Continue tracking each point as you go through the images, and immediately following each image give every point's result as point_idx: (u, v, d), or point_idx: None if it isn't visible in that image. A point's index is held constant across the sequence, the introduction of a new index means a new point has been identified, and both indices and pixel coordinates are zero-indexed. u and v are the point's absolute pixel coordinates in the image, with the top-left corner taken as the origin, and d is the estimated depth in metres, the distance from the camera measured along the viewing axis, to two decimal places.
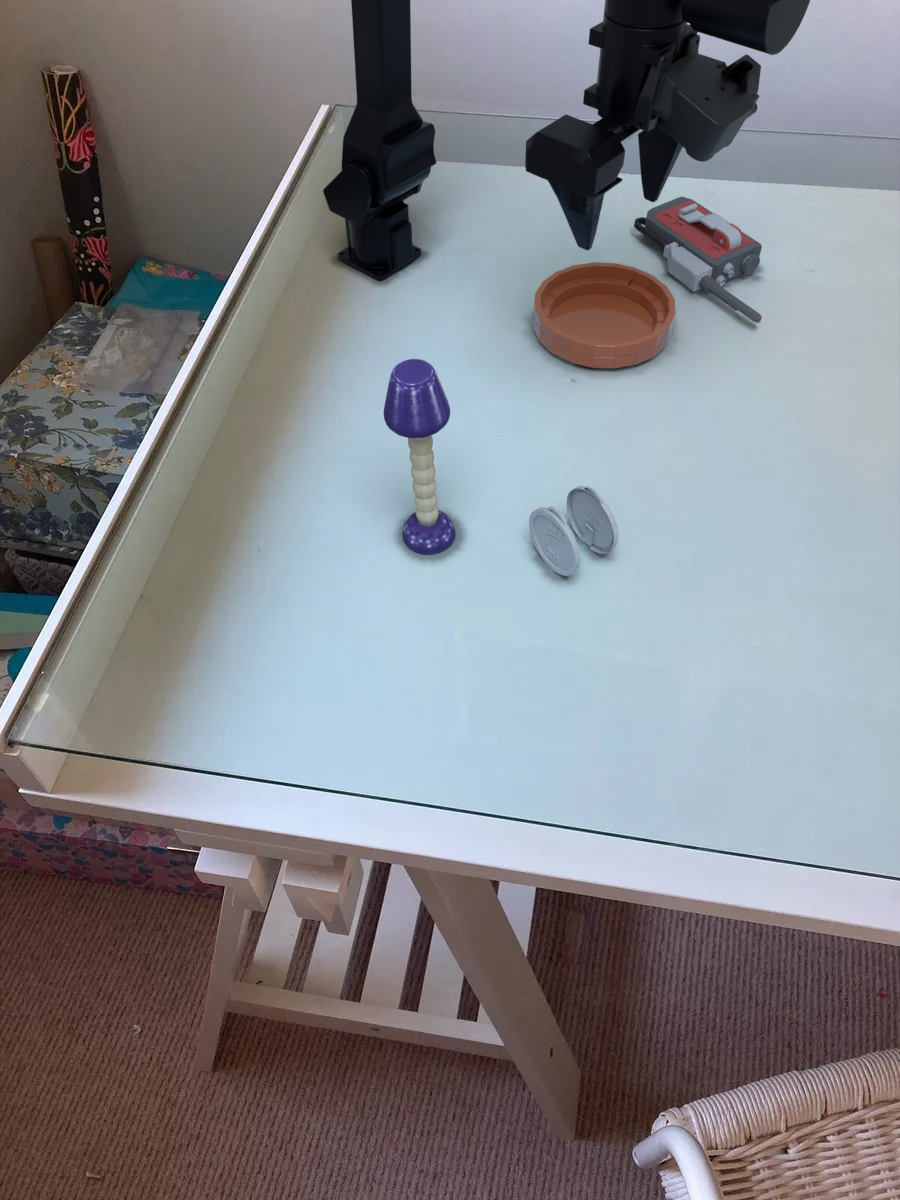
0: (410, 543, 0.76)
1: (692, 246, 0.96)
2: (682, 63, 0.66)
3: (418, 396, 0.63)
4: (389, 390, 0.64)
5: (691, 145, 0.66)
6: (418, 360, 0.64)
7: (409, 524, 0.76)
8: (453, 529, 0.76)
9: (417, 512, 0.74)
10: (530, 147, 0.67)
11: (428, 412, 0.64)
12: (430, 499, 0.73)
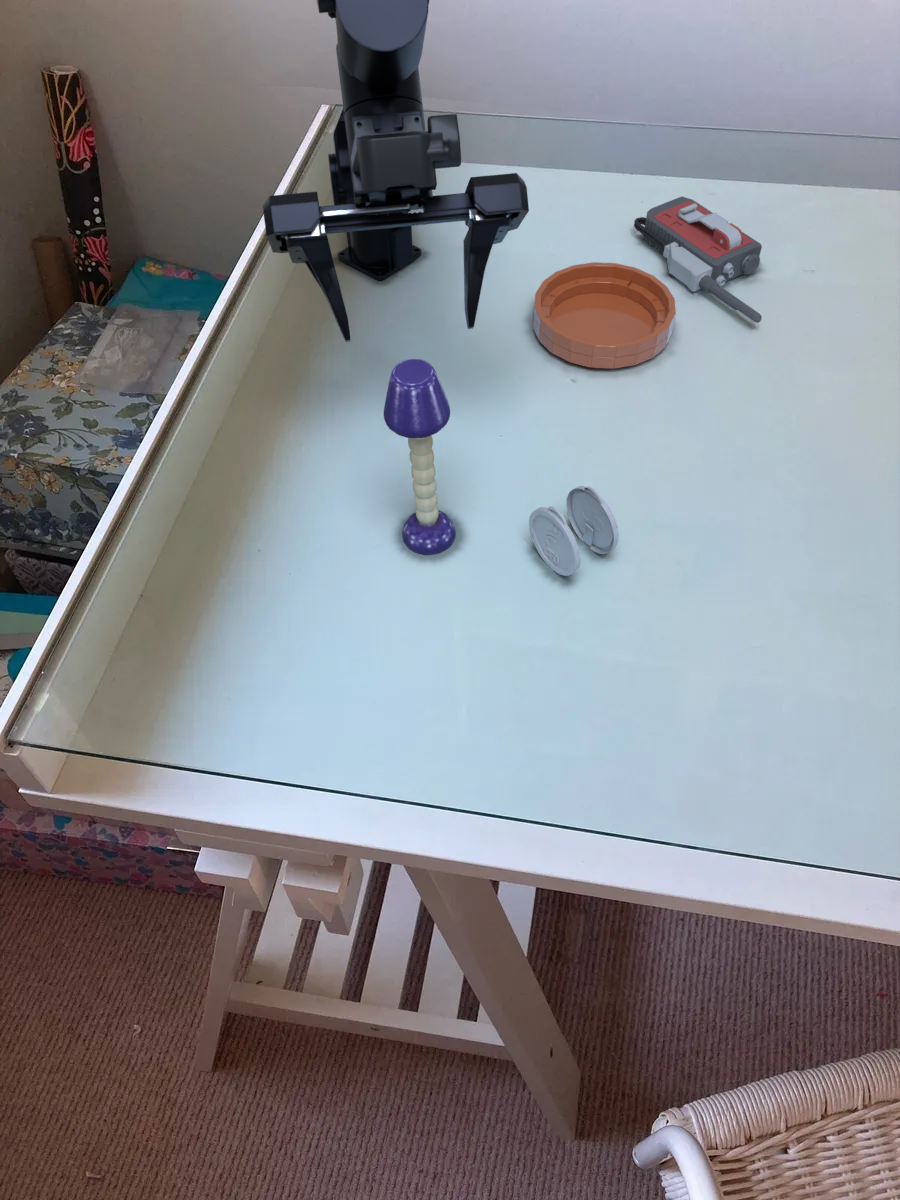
0: (410, 543, 0.76)
1: (692, 246, 0.96)
2: (392, 133, 0.66)
3: (418, 396, 0.63)
4: (389, 390, 0.64)
5: (361, 178, 0.63)
6: (418, 360, 0.64)
7: (409, 524, 0.76)
8: (453, 529, 0.76)
9: (417, 512, 0.74)
10: None
11: (428, 412, 0.64)
12: (430, 499, 0.73)
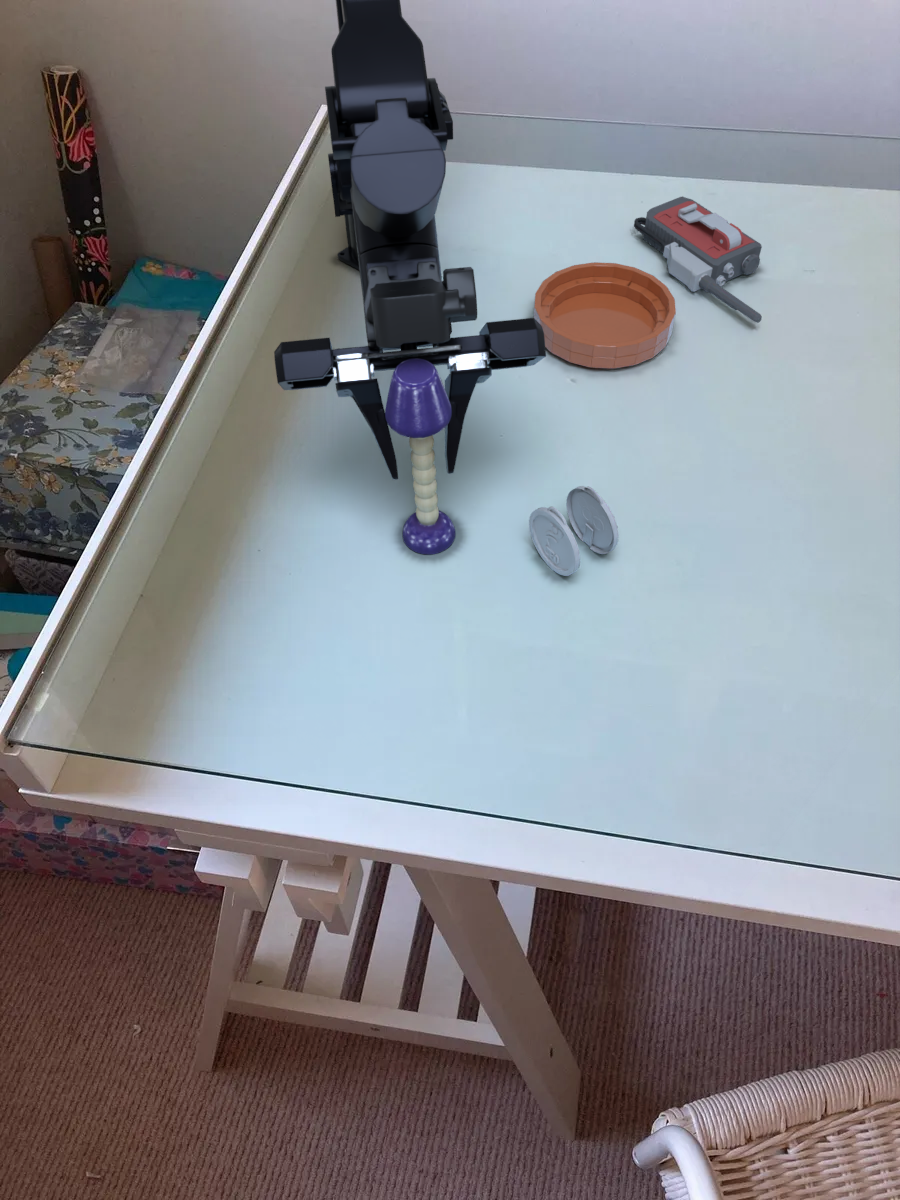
0: (410, 543, 0.76)
1: (692, 246, 0.96)
2: (407, 281, 0.65)
3: (420, 395, 0.63)
4: (391, 390, 0.64)
5: (375, 333, 0.62)
6: (420, 360, 0.64)
7: (409, 524, 0.76)
8: (453, 529, 0.76)
9: (417, 512, 0.74)
10: None
11: (430, 412, 0.64)
12: (430, 499, 0.73)
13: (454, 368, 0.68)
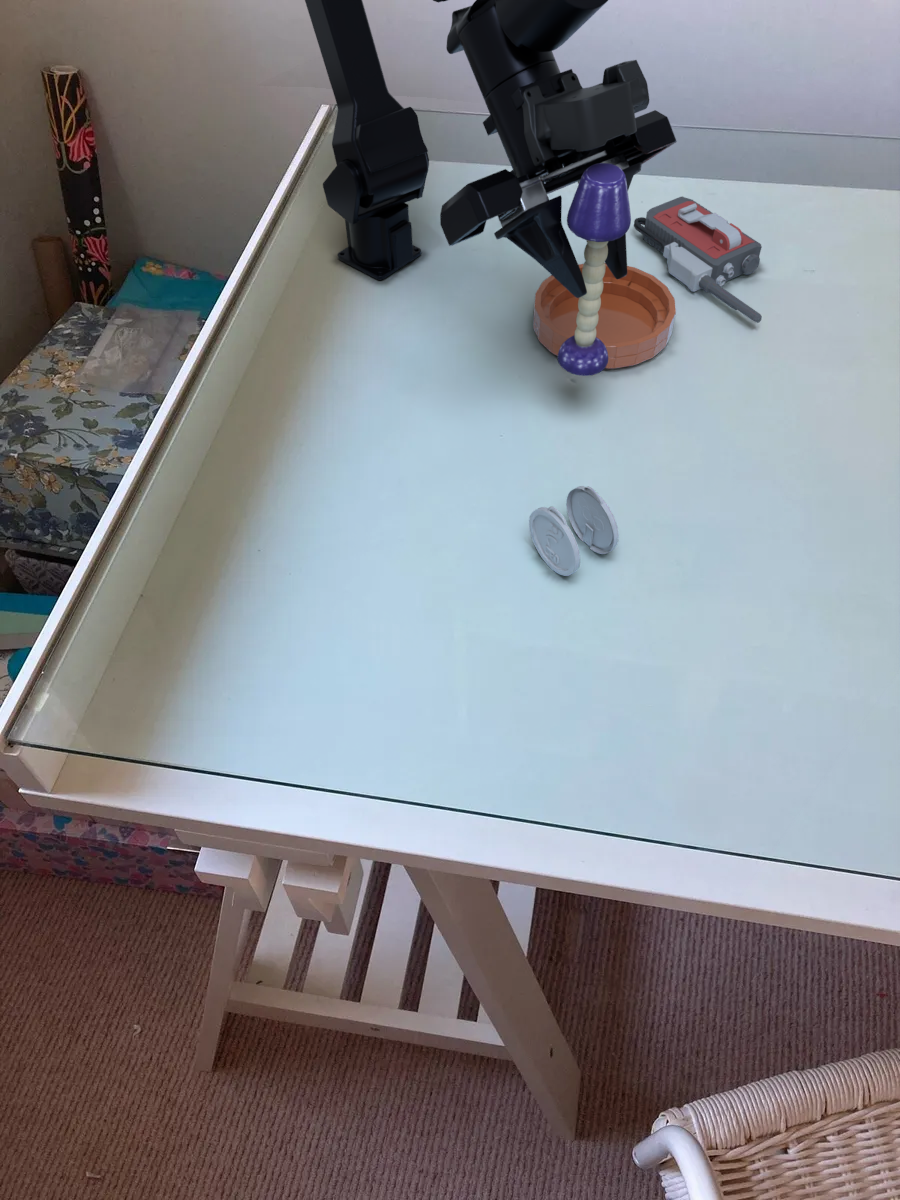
0: (578, 369, 0.79)
1: (692, 246, 0.96)
2: (559, 95, 0.67)
3: (620, 192, 0.67)
4: (586, 198, 0.67)
5: (574, 140, 0.64)
6: (600, 164, 0.68)
7: (570, 352, 0.79)
8: None
9: (580, 335, 0.78)
10: (440, 220, 0.70)
11: (625, 209, 0.68)
12: (596, 315, 0.76)
13: None
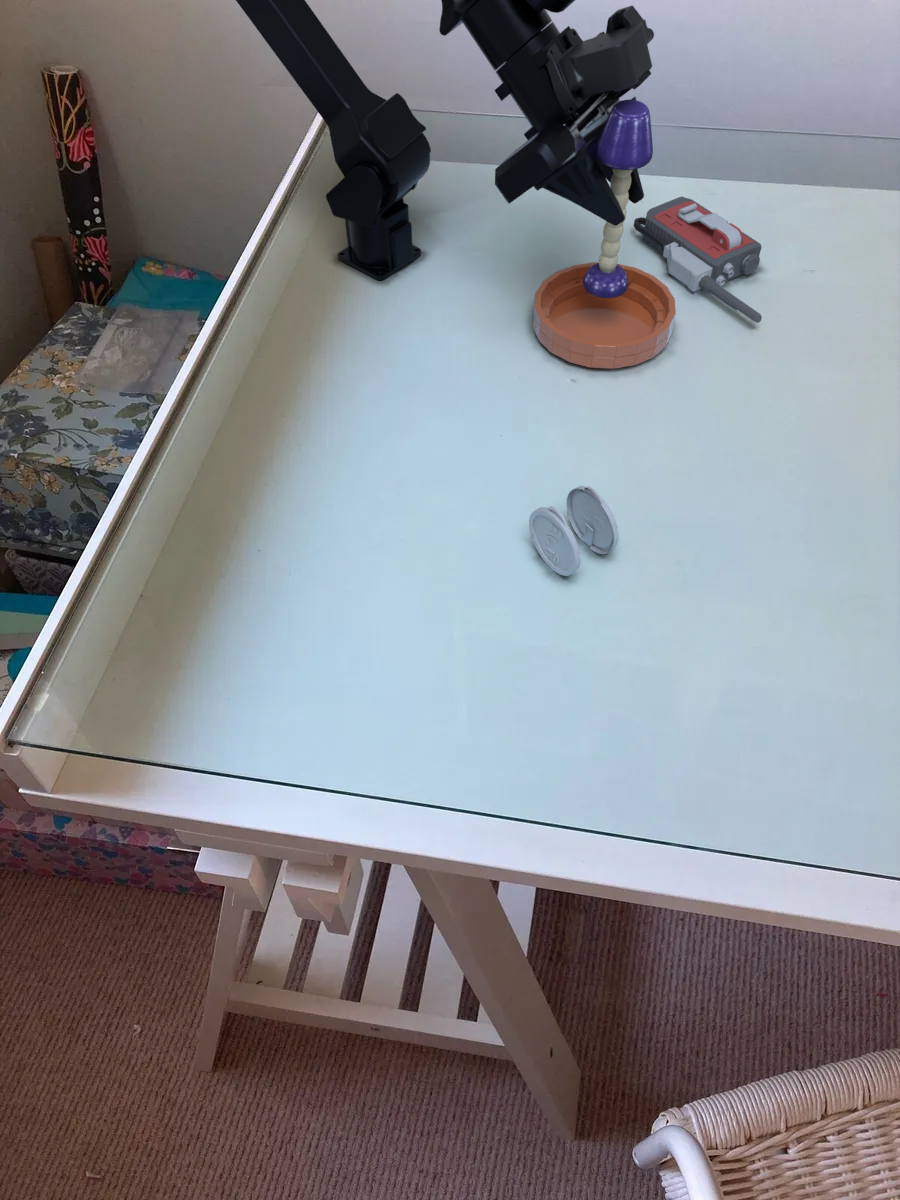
0: (610, 292, 0.88)
1: (692, 246, 0.96)
2: (571, 49, 0.76)
3: (649, 121, 0.76)
4: (623, 132, 0.76)
5: (613, 82, 0.73)
6: (621, 101, 0.77)
7: (599, 279, 0.88)
8: None
9: (607, 261, 0.87)
10: (497, 182, 0.76)
11: (651, 135, 0.78)
12: (619, 239, 0.86)
13: (608, 114, 0.81)
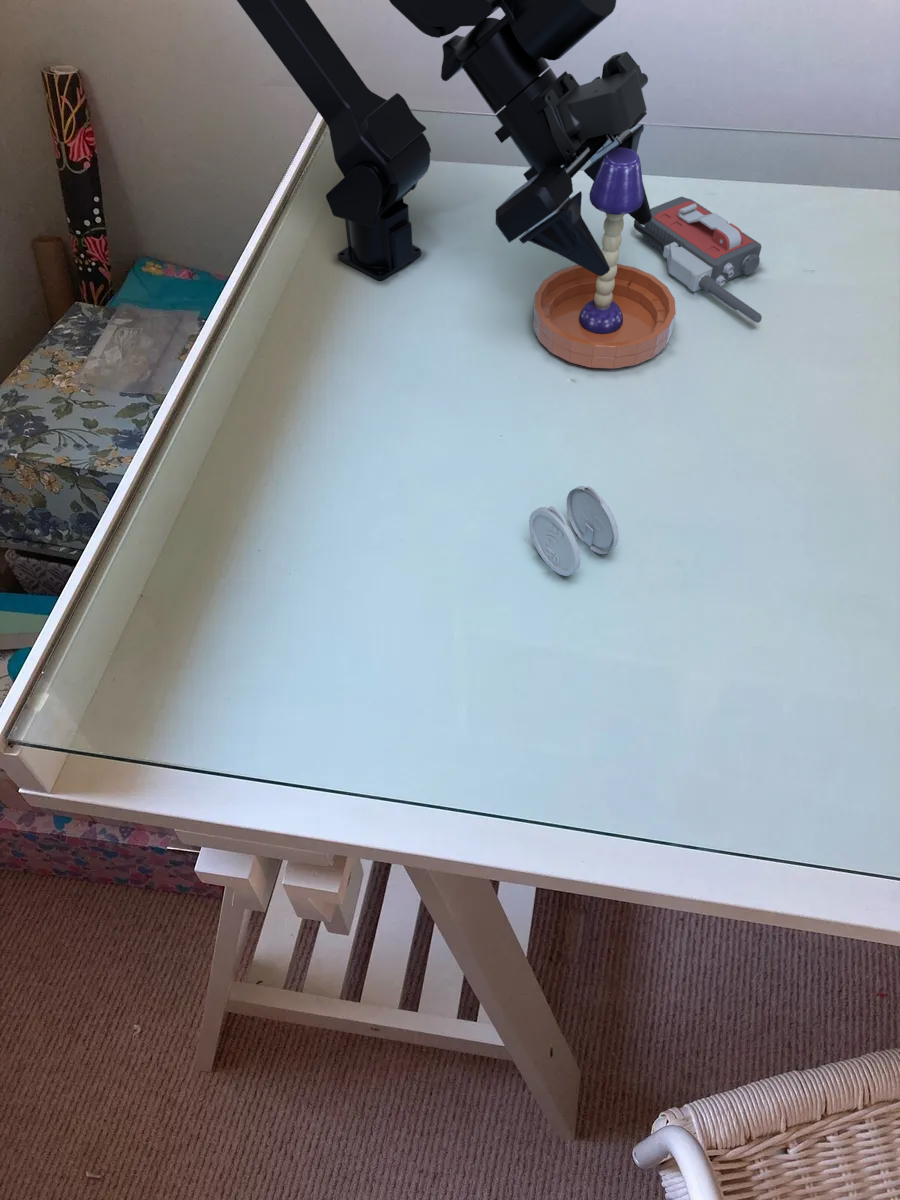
0: (605, 328, 0.91)
1: (692, 246, 0.96)
2: (568, 94, 0.78)
3: (639, 168, 0.80)
4: (614, 179, 0.79)
5: (609, 126, 0.76)
6: (613, 149, 0.80)
7: (595, 316, 0.91)
8: None
9: (602, 299, 0.90)
10: (498, 222, 0.79)
11: (642, 181, 0.81)
12: None
13: (617, 141, 0.85)
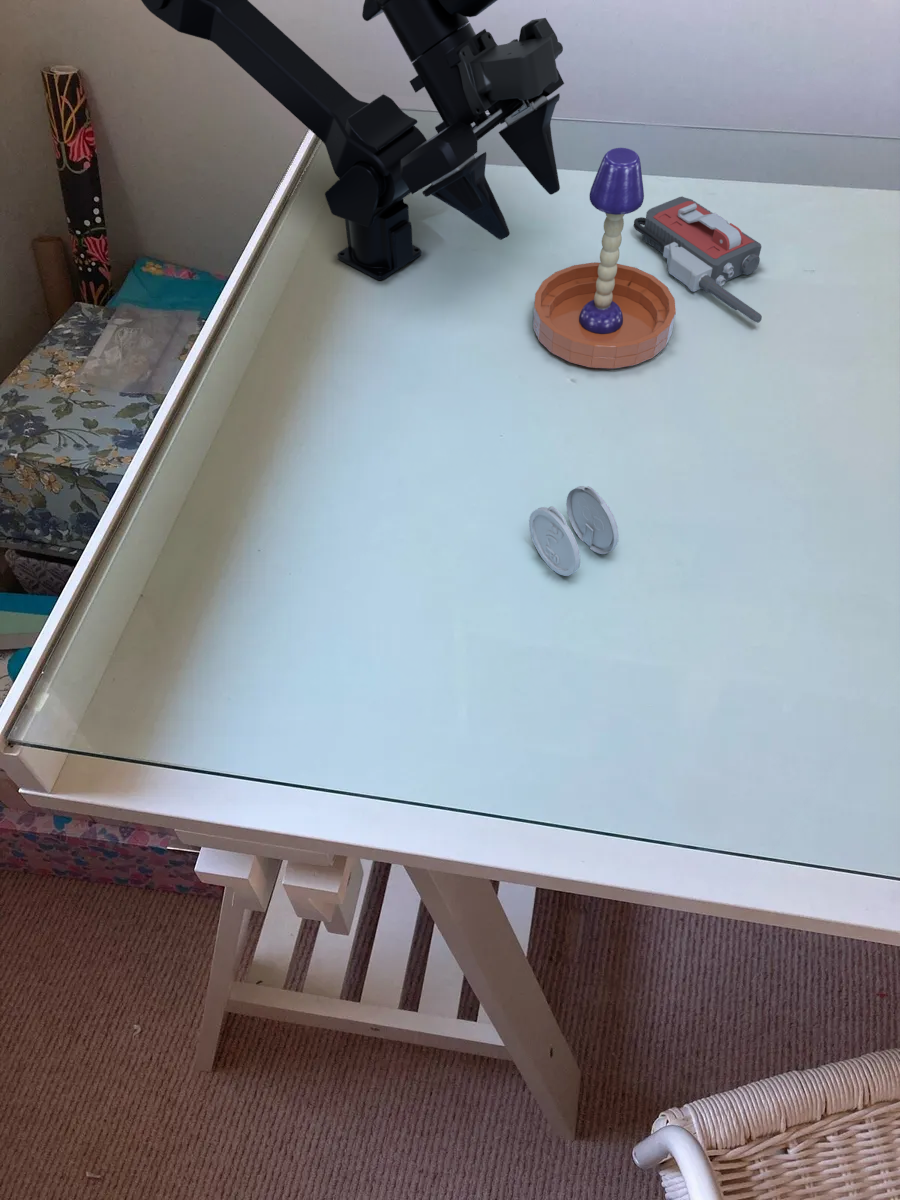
0: (605, 328, 0.91)
1: (692, 246, 0.96)
2: (484, 52, 0.79)
3: (639, 168, 0.80)
4: (614, 179, 0.79)
5: (518, 90, 0.76)
6: (613, 149, 0.80)
7: (595, 316, 0.91)
8: None
9: (602, 299, 0.90)
10: (402, 172, 0.79)
11: (642, 181, 0.81)
12: None
13: (532, 106, 0.85)
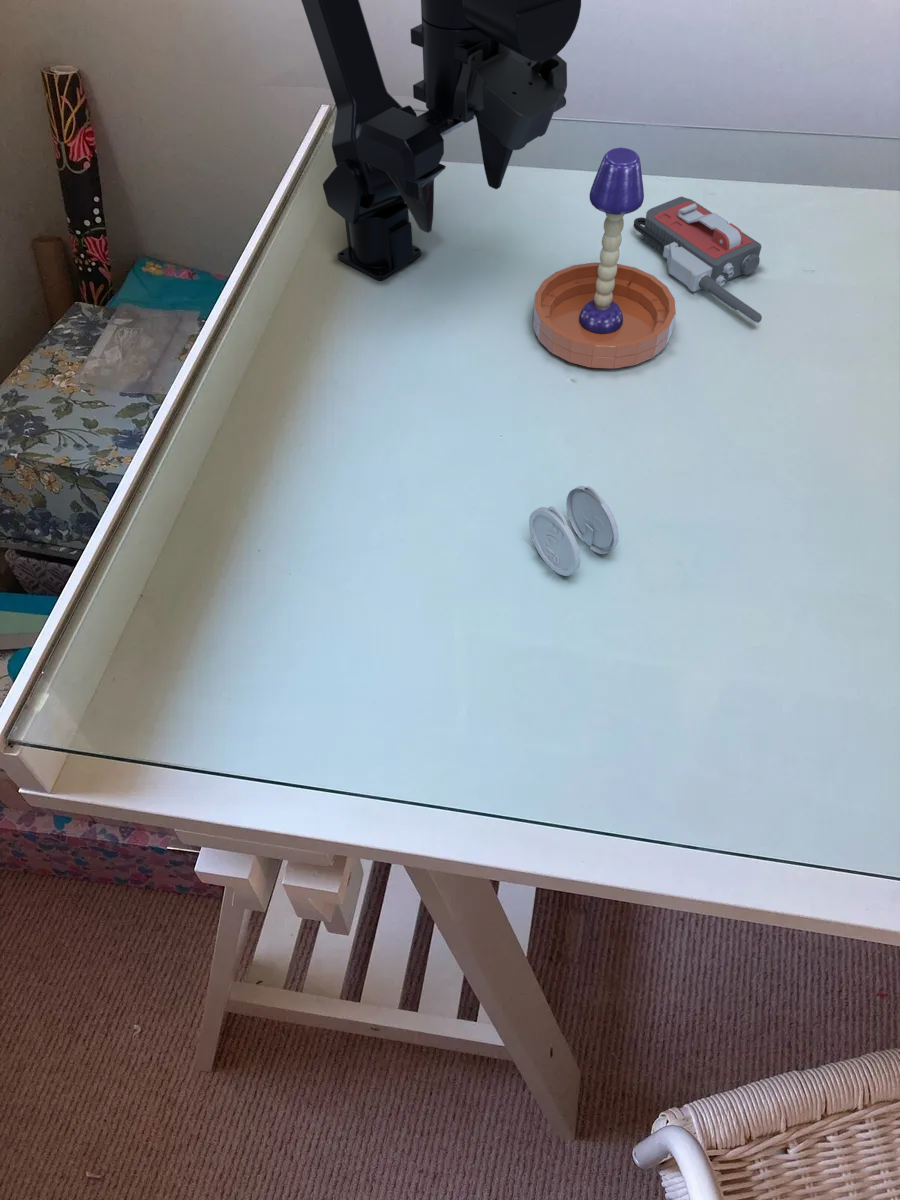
0: (605, 328, 0.91)
1: (692, 246, 0.96)
2: (494, 60, 0.73)
3: (639, 168, 0.80)
4: (614, 179, 0.79)
5: (503, 135, 0.73)
6: (613, 149, 0.80)
7: (595, 316, 0.91)
8: None
9: (602, 299, 0.90)
10: (358, 137, 0.74)
11: (642, 181, 0.81)
12: None
13: None
